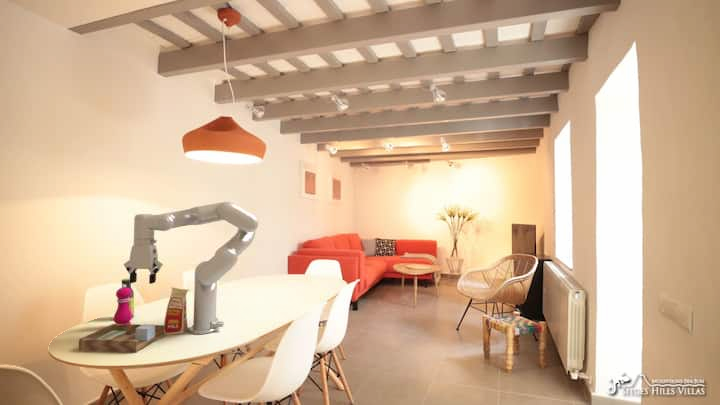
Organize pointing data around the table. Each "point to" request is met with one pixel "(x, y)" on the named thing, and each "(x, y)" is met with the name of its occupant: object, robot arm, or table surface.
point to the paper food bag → (176, 313)
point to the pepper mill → (123, 306)
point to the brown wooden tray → (117, 339)
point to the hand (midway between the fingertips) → (142, 282)
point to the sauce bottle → (131, 302)
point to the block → (145, 332)
